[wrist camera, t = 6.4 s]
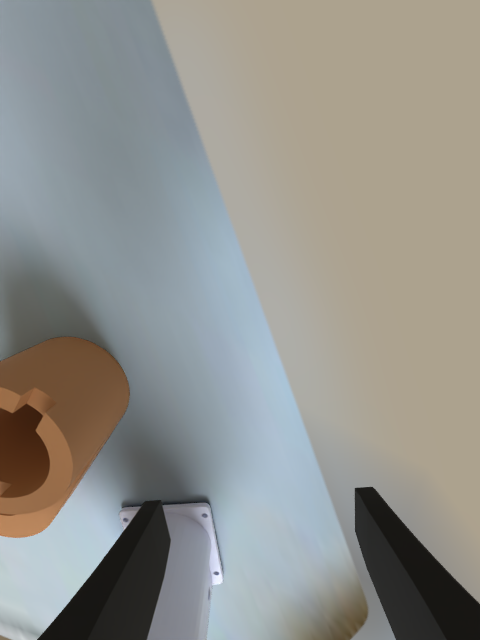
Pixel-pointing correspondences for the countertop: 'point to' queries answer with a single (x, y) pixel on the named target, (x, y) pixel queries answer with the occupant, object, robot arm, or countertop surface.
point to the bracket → (53, 426)
